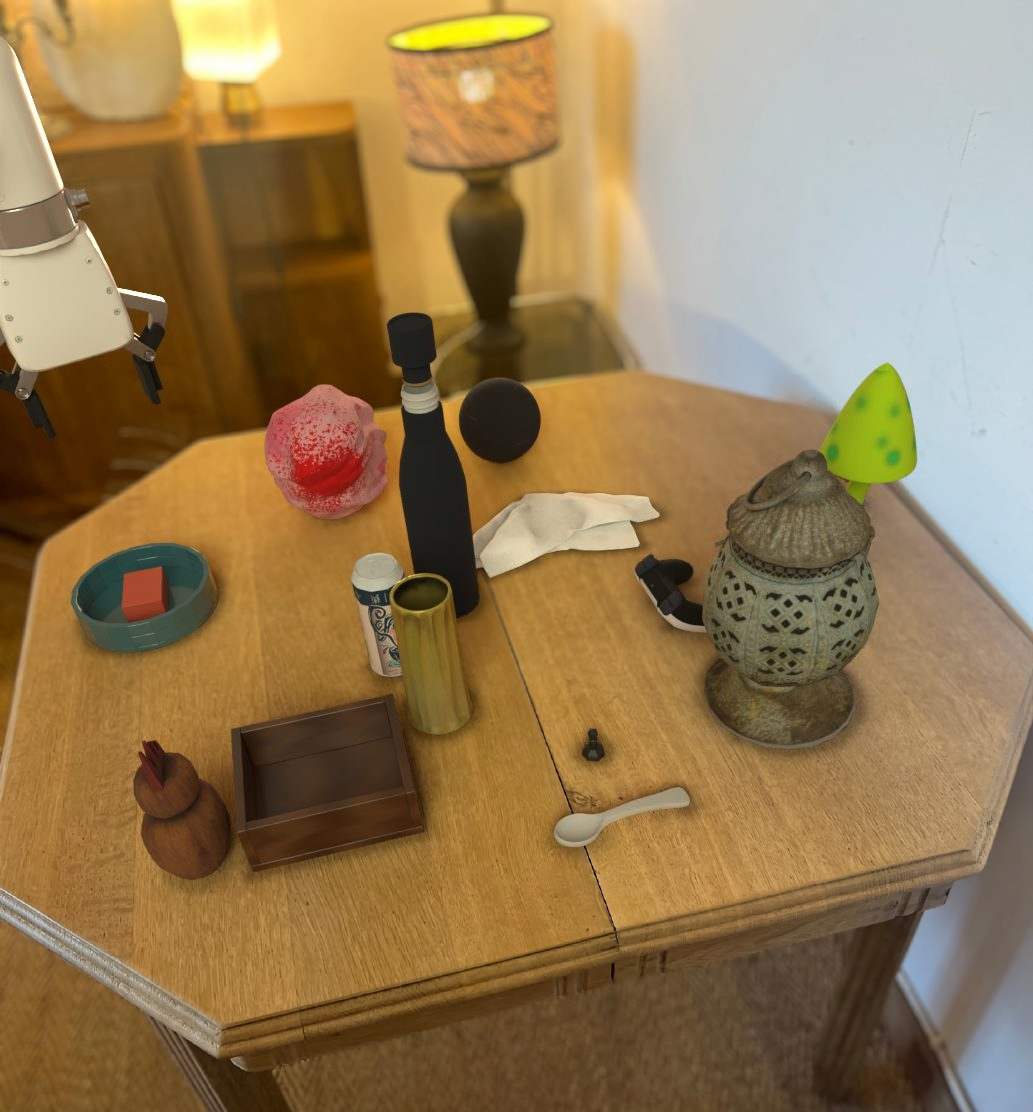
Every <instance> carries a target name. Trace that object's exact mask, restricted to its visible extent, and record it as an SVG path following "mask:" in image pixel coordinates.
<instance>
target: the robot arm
mask: <svg viewBox="0 0 1033 1112" xmlns="http://www.w3.org/2000/svg"><path fill="white" fill-rule="evenodd" d="M90 207H91V202H90V199H89V197H88V195H87V193H86V190H85V189H84V188H82V189H78V190H75V189H69V188H68V187H67V186H64V182H63V180H62V177H61V174H60V172H59V169H58V167H57V164H56V161H55V158H54V156H53V153H52V150H51V147H50V144H49V142H48V139H47V135H46V133H45V131H44V128H43V125H42V122H41V119H40V117H39V114H38V112H37V109H36V106H35V103H34V100H33V97H32V95H31V91H30V89H29V86H28V83H27V81H26V78H25V76H24V72H23V69H22V68H21V65H20V62H19V59H18V57H17V55H16V53H15V51H14V49H13V48H12V46H11V45H10V44H9V42H8V41H7V40H5V39H4V38H3V37H2V36H0V347H2V345H4V343H5V345H6V347H7V349H8V351H9V352H10V354H11V356H13V358H14V360H15V363H14V365H13V368H12V371H11V372H9V371H7V370H5V369H3V368H0V390H3V391H5V392H7V393H10V394H12V395H14V396H16V397H17V398H18V399H20V400H21V402H22V404H23V406H24V408H25V410H26V411H25V412H26V413H27V415H28V417H29V419H30V422H31V424H32V426H33V428H34V429H35V430H37V429H39V428H42V429H43V430H44V432H45V434H46V436H47V438H48V439H49V440H50V439H53V438H55V436H56V435H57V433H56V431H55V429H54V426H53V424H52V422H51V420H50V417H49V415H48V412H47V410H46V408H45V405H44V404H43V402H42V399H41V396H40V395H39V393H38V391H37V390H36V388H35V384H36V381H37V378H38V376H39V373H42V372H46V371H50V370H53V369H54V370H55V369H57V368H61V367H65V366H68V365H72V364H75V363H78V362H81V361H85V360H89V359H92V358H94V357H98V356H99V357H100V356H101V355H105V354H108V353H111V352H114V351H117V350H120V349H122V348H124V349H125V350H126V351H128V352H130V353H132V356H131V358H132V361H133V364H134V367H135V369H136V372H137V375H138V379H139V381H140V383H141V386H142V389H143V392H144V394H145V395H146V397H147V398H148V400H149V402H151V404H152V405H155V406H158V405H160V404H162V401H161V398H160V395H159V392H158V391H161V390H163V389H164V387H163V384H162V381H161V378H160V376H159V372H158V369H157V366H156V363H155V360H156V357H157V350H158V348H159V347H160V345H161V342H162V341H163V339H164V337H165V335H166V330H165V327H166V324H167V318H168V312H169V304H168V303H167V302H166V300H164V298H163V297H161V296H157V295H152V294H148V293H144V292H138V291H133V290H129V289H123V288H119V287H118V286H117V283H116V281H115V278H114V276H113V274H112V272H111V270H110V269H111V268H110V267H109V265H108V264H107V261H106V259H105V258H104V255H103V254H102V251H101V249H100V246H99V245H98V243H97V240H96V239H95V237H94V235H93V233H92V232H91V229H90V228H89V226H88V225H87V224H86V222H85V221H84V220H81V219H78V217H79V216H80V215H79V212H82V211H83V210H84V209H88V208H90ZM127 309H129V310H135V311H141V312H145V313H148V320H147V322H146V324H145V326H144V328H143V330H142V332H141V333H140V335H138V334H137V333H135V331H134V327H133V323H132V321H131V317H130V315H129V313H128V310H127Z"/></svg>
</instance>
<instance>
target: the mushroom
mask: <svg viewBox="0 0 1033 1112" xmlns="http://www.w3.org/2000/svg"><path fill="white" fill-rule="evenodd" d="M913 417H914V416H913V412H912V407H911V404H910V400H909V396H908V393H907V390H906V388H905V385H904V382H903V380H902V378H901V376H900V374H899V373H898V371H897V369H896V368H895V367H894V366H893V365H892V364H891V363H889V362H885V363H883V364H881V365H879V366H878V367H876V368H875V369H874V370H872V372H870V373H869V374H868V375H867V376H866V378H864V379H863V380H862V382H861V383H860V384H859V385H858V386H857V387H856V389H855V390H854V391H853V392H852V394H851V396H850V397H849V398H848V399H847V401H846V402H845V404H844V405H843V406H842V408H841V410H840V411H839V413H838V415H837V416H836V418H835V420H834V421H833V424H832V426H830V429H829V431H828V433H826V436H825V438H824V440H823V441H822V444H821V447H820V449H819V452H821V453H822V454H823V455H824V457H825V458H826V460H827V469H828V470H829V471H830V472H832V473H833V474H835V475H837V476H839V477H842V478H845V479H848V480H849V483H848V485H847V487H846V490H847V492H848V493H849V494H850V495H851V496H852V497H854V498H855V499H856V500H857V501H858V502H859V503H860V504H861V505H862V506H863V503H864V500H865V499H866V496H867V493H868V491H869V490H870V488H871V485H872V484H887V483H893V482H898V481H899V480H900V481H901V480H902V479H904V478H907V477H908V476H910V475H911V474H912V473H913V472H914V470H916V467H917V464H918V447H917V437H916V431H915V424H914V418H913Z"/></svg>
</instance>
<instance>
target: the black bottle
mask: <svg viewBox="0 0 1033 1112" xmlns="http://www.w3.org/2000/svg"><path fill="white" fill-rule="evenodd" d="M386 329H387V335H388V343H389V348H390V354H391V361H392V363H393V364H394V365H395V366H397V367H399V368H401V374H402V375H401V376H402V378H401V379H402V383H403V384H402V386H401V391H400V397H401V398H402V399H401V403H402V405H401V406H400V413H401V419H402V426H403V430H404V438H403V442H402V445H401V446H402V448H401V452H400V457H399V465H398V466H399V467H398V488H399V489H398V490H399V494H400V499H401V506H402V511H403V512H402V513H403V517H404V523H405V528H406V536H407V541H408V548H409V552H410V557H411V563H412V569H413V570H412V571H413V575H415V574H421V573H430V574H436V575H439V576H441V577H443V578H444V579H446V580H447V581H448V582H449V584H450V586H451V589H452V594H453V601H454V607H455V613H456V619H459V618H462V617H466V616H467V615H469V614H470V613H472V612H473V611H474V610H475V609H476V607H478V605H479V602H480V598H481V597H480V589H479V588H480V587H479V580H478V578H479V577H478V571H477V570H478V569H476V561H475V552H474V544H473V535H474V534H473V528H472V517H471V511H470V510H471V509H470V502H469V493H468V485H467V479H466V474H465V471H464V467H463V464H462V462H461V459H460V455H459V454H458V451H457V449H456V447H455V445H454V443H453V441H452V439H451V437H450V435H449V434H448V432H447V430H446V421H445V414H444V406H443V403H442V401H441V400H440V396H439V394H438V393H439V389H438V387H437V385H436V382H435V381H434V380H433V373H432V370H431V364H432V363H434V362H435V360H437V357H438V356H437V355H438V354H437V347H436V339H435V331H434V324H433V319H432V317H431V316H430V315H428V314H426V313H423V312H415V311H412V312H404V313H400V314H397V315H395V316H393V317H391V318H390V319H389V320H388V321H387V322H386Z"/></svg>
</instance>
